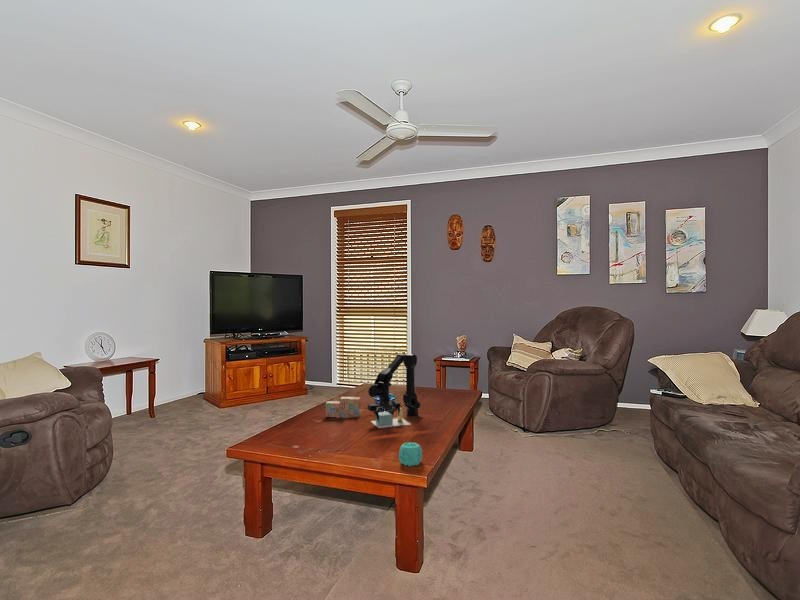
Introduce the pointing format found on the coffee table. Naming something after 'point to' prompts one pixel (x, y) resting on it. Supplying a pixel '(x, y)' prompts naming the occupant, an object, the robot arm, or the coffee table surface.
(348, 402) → the stack of blocks
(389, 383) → the robot arm
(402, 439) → the coffee table surface
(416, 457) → the decorative dice
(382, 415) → the block
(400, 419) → the pin
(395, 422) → the board
